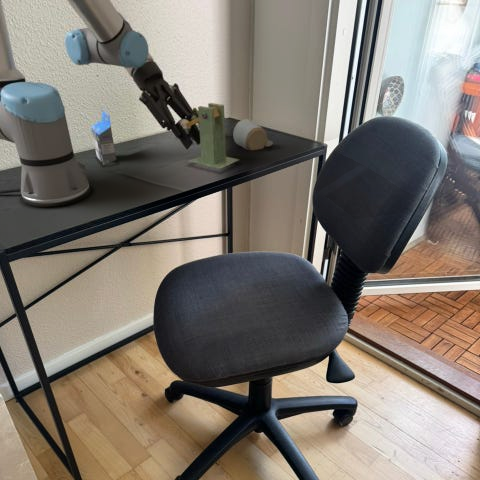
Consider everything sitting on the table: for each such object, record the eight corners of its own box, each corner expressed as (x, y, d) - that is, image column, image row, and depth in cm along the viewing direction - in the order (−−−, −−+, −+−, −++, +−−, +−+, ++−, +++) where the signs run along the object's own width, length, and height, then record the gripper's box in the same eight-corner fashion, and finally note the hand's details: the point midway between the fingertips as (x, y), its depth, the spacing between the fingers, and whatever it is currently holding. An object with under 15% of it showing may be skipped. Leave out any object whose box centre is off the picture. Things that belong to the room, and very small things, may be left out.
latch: (176, 138, 127) (170, 123, 126) (186, 134, 130) (180, 120, 129) (213, 121, 117) (207, 105, 116) (223, 117, 120) (217, 101, 119)
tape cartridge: (96, 157, 134) (87, 111, 126) (109, 155, 135) (101, 109, 128) (104, 166, 127) (94, 118, 120) (118, 164, 129) (110, 116, 121)
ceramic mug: (246, 155, 132) (246, 127, 128) (232, 148, 138) (232, 120, 133) (278, 150, 136) (279, 122, 132) (263, 143, 142) (264, 116, 137)
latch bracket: (188, 165, 127) (183, 106, 118) (208, 156, 132) (204, 99, 123) (220, 173, 121) (217, 112, 113) (239, 164, 127) (238, 105, 118)
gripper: (159, 75, 133) (208, 144, 135) (114, 85, 123) (167, 160, 124) (171, 55, 128) (222, 127, 130) (124, 64, 117) (180, 143, 119)
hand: (195, 143), depth 127 cm, fingers closed on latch, 4 cm apart
